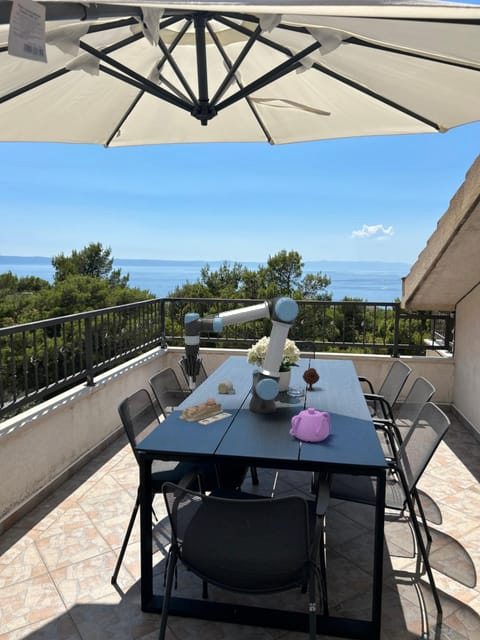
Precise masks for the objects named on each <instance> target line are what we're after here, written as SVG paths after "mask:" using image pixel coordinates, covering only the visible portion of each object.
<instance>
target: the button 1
mask: <svg viewBox="0 0 480 640" xmlns="http://www.w3.org/2000/svg"><path fill="white" fill-rule="evenodd" d="M187 408H188V411H190V412H194V411H197V408H195V407H193V406H191V407H187Z"/></svg>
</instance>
